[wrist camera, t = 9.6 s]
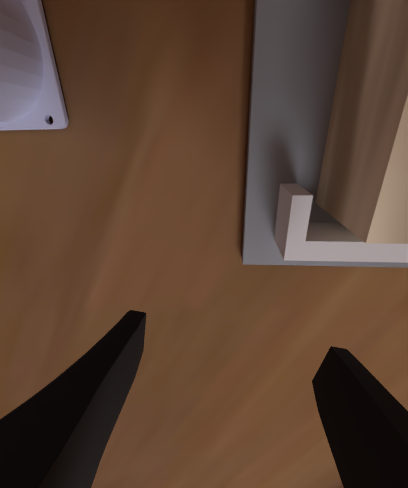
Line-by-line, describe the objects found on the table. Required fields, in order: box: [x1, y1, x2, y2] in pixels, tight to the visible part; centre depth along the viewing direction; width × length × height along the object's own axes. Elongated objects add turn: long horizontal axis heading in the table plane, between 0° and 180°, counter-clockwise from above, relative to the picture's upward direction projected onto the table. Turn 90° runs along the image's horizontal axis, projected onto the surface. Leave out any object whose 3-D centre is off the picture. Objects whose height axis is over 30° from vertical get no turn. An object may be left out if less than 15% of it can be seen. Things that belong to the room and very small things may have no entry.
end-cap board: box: [242, 0, 408, 267], centre depth 12 cm, size 12×20×4 cm, turn 1°
